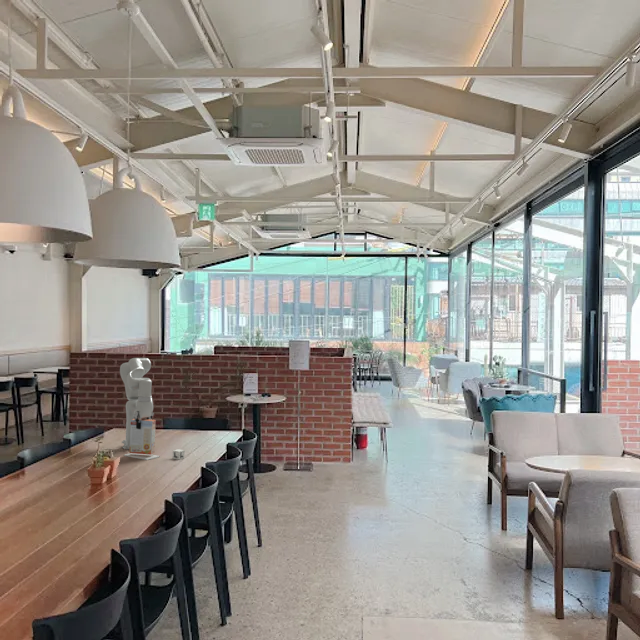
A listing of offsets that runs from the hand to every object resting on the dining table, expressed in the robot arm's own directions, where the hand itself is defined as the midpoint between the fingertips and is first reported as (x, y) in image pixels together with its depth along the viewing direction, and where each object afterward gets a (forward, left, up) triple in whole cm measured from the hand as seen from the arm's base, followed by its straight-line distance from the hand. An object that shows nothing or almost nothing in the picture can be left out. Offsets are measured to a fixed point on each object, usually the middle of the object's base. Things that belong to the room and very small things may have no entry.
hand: (143, 427), depth 368 cm
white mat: (0, 0, -18) cm, 18 cm away
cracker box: (0, 0, -16) cm, 16 cm away
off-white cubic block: (+21, +10, -18) cm, 29 cm away
